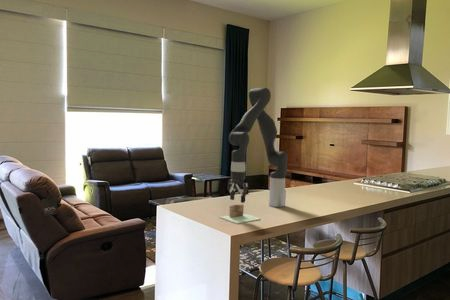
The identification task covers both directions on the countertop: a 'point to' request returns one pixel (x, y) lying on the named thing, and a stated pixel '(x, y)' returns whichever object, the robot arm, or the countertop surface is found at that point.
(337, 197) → the countertop surface
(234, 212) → the brown wooden block
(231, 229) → the countertop surface
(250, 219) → the mat
